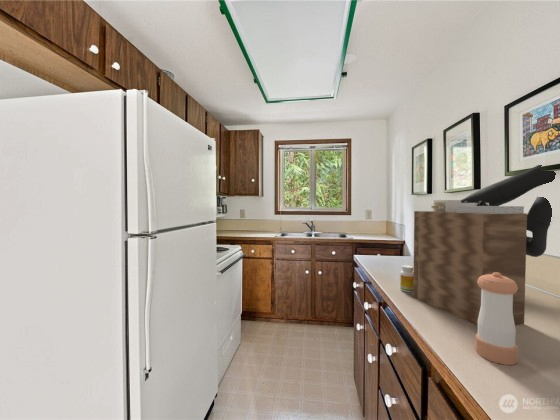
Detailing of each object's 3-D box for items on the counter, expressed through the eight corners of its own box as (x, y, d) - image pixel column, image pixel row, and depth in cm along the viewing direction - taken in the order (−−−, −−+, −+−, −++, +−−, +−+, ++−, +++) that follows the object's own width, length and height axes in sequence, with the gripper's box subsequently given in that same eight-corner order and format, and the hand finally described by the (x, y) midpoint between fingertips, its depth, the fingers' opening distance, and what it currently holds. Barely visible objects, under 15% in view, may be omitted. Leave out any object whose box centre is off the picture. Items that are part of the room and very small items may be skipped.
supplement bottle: (417, 293, 96) (417, 268, 96) (402, 292, 97) (402, 267, 97) (412, 288, 101) (412, 265, 101) (398, 287, 102) (398, 264, 102)
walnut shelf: (413, 296, 93) (414, 211, 92) (442, 292, 96) (443, 210, 95) (488, 331, 68) (491, 214, 67) (524, 324, 71) (526, 213, 71)
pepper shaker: (467, 346, 60) (468, 268, 60) (494, 345, 61) (496, 268, 60) (495, 366, 53) (497, 278, 53) (526, 364, 54) (528, 277, 53)
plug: (428, 211, 87) (429, 200, 87) (475, 210, 93) (475, 200, 93) (442, 212, 82) (442, 200, 82) (490, 211, 88) (490, 199, 88)
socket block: (456, 212, 78) (456, 206, 78) (482, 212, 81) (482, 205, 81) (494, 214, 68) (494, 206, 68) (523, 213, 71) (523, 206, 71)
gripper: (484, 216, 100) (456, 194, 96) (528, 218, 87) (498, 193, 82) (477, 232, 99) (449, 211, 95) (520, 237, 86) (489, 213, 81)
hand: (472, 203), depth 89 cm, fingers open, 4 cm apart
